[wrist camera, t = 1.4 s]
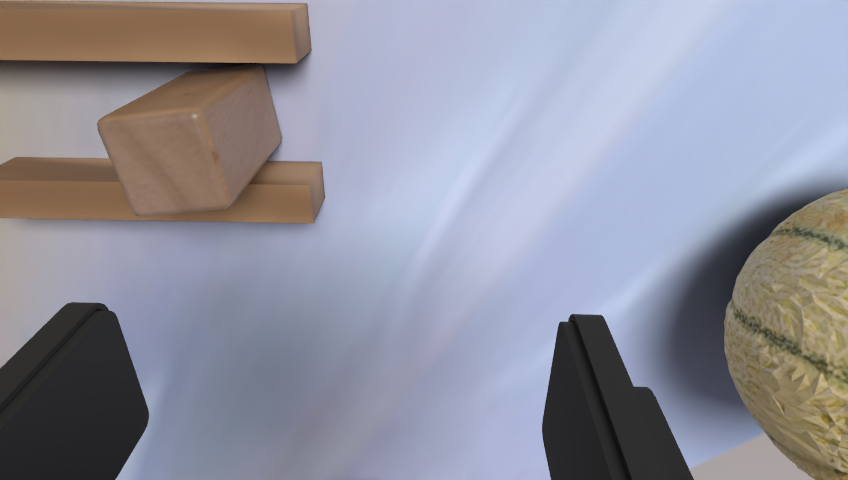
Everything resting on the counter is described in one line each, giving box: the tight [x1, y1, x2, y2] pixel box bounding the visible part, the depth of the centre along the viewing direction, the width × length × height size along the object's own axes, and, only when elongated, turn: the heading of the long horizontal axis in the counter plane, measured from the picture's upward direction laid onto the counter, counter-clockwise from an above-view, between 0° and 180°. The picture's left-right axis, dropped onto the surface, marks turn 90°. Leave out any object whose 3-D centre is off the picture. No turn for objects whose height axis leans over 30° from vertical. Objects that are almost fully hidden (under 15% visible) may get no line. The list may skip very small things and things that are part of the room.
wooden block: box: [97, 64, 281, 217], centre depth 23 cm, size 4×4×8 cm
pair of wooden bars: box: [0, 1, 325, 223], centre depth 25 cm, size 10×16×3 cm, turn 90°
